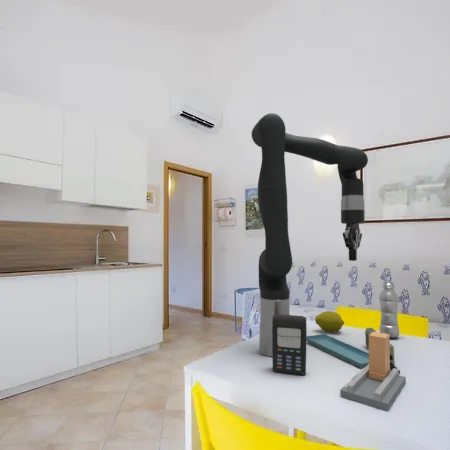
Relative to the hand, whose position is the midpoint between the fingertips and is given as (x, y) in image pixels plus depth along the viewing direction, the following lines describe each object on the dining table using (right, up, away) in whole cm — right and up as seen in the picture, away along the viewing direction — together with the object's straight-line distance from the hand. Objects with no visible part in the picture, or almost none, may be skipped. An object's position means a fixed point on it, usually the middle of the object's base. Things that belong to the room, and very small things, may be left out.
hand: (352, 260), depth 112 cm
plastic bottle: (+18, -30, +11) cm, 37 cm away
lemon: (-2, -30, +17) cm, 35 cm away
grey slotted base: (-7, -28, -33) cm, 43 cm away
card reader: (-26, -28, -23) cm, 44 cm away
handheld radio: (+4, -29, -12) cm, 32 cm away
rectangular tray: (-6, -29, -6) cm, 31 cm away
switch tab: (-4, -26, -29) cm, 39 cm away
